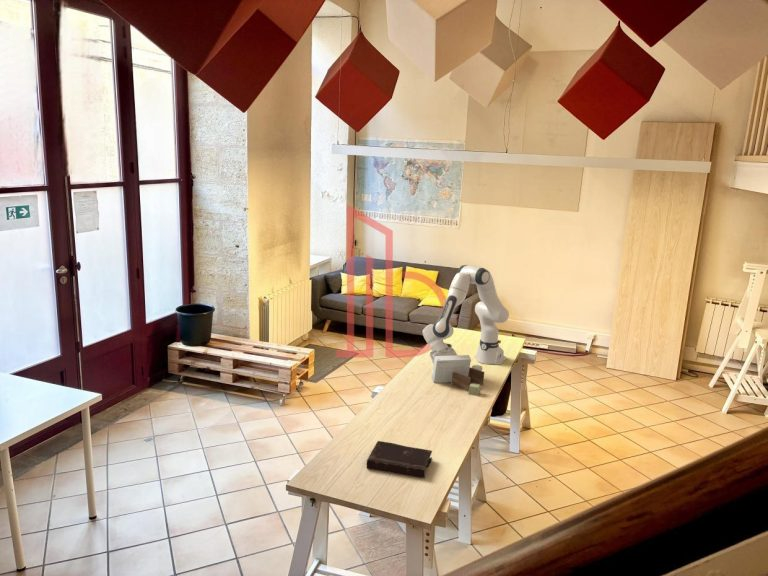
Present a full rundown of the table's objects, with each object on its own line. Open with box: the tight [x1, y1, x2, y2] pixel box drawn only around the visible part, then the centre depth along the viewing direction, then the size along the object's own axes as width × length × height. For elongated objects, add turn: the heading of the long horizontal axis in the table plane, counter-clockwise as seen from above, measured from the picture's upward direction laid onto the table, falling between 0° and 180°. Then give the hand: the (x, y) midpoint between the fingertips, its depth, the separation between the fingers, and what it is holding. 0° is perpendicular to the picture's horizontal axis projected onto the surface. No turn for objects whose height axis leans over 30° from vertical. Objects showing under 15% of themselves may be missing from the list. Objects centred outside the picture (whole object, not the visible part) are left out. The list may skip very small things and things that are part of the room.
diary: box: [366, 440, 433, 479], centre depth 259 cm, size 19×25×5 cm
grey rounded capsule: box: [471, 364, 483, 371], centre depth 362 cm, size 6×6×8 cm
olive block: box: [468, 382, 481, 397], centre depth 339 cm, size 5×5×5 cm
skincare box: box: [431, 354, 472, 384], centre depth 354 cm, size 21×6×16 cm, turn 101°
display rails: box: [451, 366, 485, 392], centre depth 351 cm, size 15×12×8 cm
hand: (451, 369), depth 359 cm, fingers closed
